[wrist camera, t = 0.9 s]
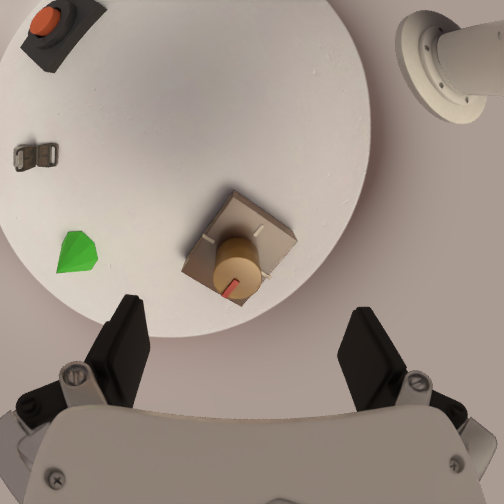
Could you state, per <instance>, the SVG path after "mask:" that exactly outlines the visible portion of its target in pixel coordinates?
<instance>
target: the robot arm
mask: <svg viewBox="0 0 504 504" xmlns="http://www.w3.org/2000/svg"><path fill="white" fill-rule="evenodd" d="M419 53H420V58H421V62H422V65H423V68H424V70H425V73H426V75H427V77H428V79H429V80H430V82H431V84H432V85H433V86H434V88H435V89H436V90H437V91H438V92H439V93H440V95H441V96H442V97H444V98H445V99H446V100H448V101H449V102H451V103H453V104H456V105H470V104H472V103H473V102H474V101H475V100H476V99H477V97H478V96H479V95H487V96H504V20H501V21H495V22H490V23H485V24H481V25H476V26H471V27H468V28H463V29H459V30H456V31H453V30H451V29H449V28H447V27H445V26H440V25H437V26H432V27H429V28H427V29H426V30H425V31H424V32H423V33H422V35H421V37H420V42H419ZM149 352H150V341H149V335H148V330H147V324H146V318H145V311H144V305H143V300H142V299H139V297H138V296H137V295H128V294H126V295H125V296H124V297H123V299H122V301H121V302H120V304H119V306H118V308H117V309H116V311H115V313H114V315H113V316H112V318H111V320H110V321H107V322H106V323H105V324H104V326H103V328H102V329H101V331H100V333H99V335H98V337H97V338H96V340H95V342H94V344H93V346H92V347H91V349H90V351H89V353H88V355H87V357H86V359H85V361H84V362H81V361H74V362H70V363H68V364H66V365H65V366H64V367H63V368H62V369H61V370H60V373H59V380H58V381H55V382H53V383H50V384H48V385H45V386H43V387H41V388H38V389H36V390H33V391H31V392H28V393H25V394H23V395H22V396H21V397H20V398H19V399H18V401H17V403H16V410H15V411H13V412H12V411H11V410H10V411H9V412H7V413H6V414H5V415H3V416H2V417H1V418H0V477H1V478H2V480H3V481H4V483H5V484H6V486H7V487H8V489H9V490H10V492H11V493H12V494H13V496H14V497H15V498H16V500H17V501H18V502H19V504H486V502H485V498H484V495H483V492H482V488H481V486H480V483H479V482H480V480H481V478H482V476H483V475H484V473H485V471H486V469H487V467H488V465H489V463H490V461H491V459H492V457H493V455H494V453H495V451H496V448H497V440H496V437H495V436H494V435H493V434H492V433H491V432H489V431H488V430H487V429H486V428H484V427H483V426H482V425H481V424H479V423H478V422H477V421H476V420H474V419H473V418H472V417H470V418H469V419H468V418H467V417H468V414H467V410H466V408H465V407H464V405H463V404H461V403H460V402H458V401H456V400H454V399H451V398H449V397H447V396H445V395H443V394H440V393H438V392H436V391H434V390H432V388H433V384H432V381H431V379H430V378H429V376H428V375H426V374H425V373H423V372H421V371H415V370H413V371H410V372H408V371H407V370H406V368H407V367H406V365H405V363H404V361H403V360H402V358H401V356H400V355H399V353H398V351H397V350H396V348H395V346H394V345H393V343H392V341H391V340H390V338H389V336H388V335H387V333H386V331H385V330H384V328H383V327H382V325H381V323H380V322H379V320H378V319H377V317H376V316H375V314H374V312H373V311H372V309H371V308H370V307H357V308H356V310H354V311H353V312H352V315H351V318H350V321H349V323H348V326H347V329H346V332H345V335H344V337H343V340H342V342H341V345H340V348H339V350H338V354H337V357H338V361H339V364H340V366H341V369H342V371H343V374H344V376H345V379H346V382H347V385H348V388H349V390H350V393H351V396H352V399H353V401H354V404H355V407H356V410H357V412H353V413H345V414H338V415H329V416H320V417H308V418H291V419H221V418H206V417H194V416H184V415H175V414H166V413H159V412H152V411H145V410H139V409H133V404H134V401H135V397H136V394H137V390H138V387H139V384H140V381H141V377H142V374H143V371H144V368H145V364H146V361H147V358H148V355H149Z"/></svg>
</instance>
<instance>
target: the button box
mask: <svg viewBox="0 0 504 504" xmlns="http://www.w3.org/2000/svg"><path fill="white" fill-rule="evenodd" d="M46 7H52V8H54V9H56V10H58V11H60V14H61V17H60V20H59V22H58V24H57V26H56V27H55V28H54V29H53V31H52V32H51V33H49V34H48V35H46V36H39V35H36V34H33V33H31V31H30V29H29V32H28V37H27V38H26V40H25V41H24V43H23V44H22V46H21V47H20V48H21V49H22V50H23V51H24V52H25V53H26V54H27V55H28V56H29V57H30V58H31V59H32V60H33V61H34V62H35V63H36V64H37V65H38V66H39V67H41V68H42V69H43V70H44V71H45V72H51V73H55V72H56V70H57V69H58V67H59V66H60V65H61V63H62V62H63V60H64V59H65V58H66V56H67V55H68V54H69V52H70V51H71V50H72V49H73V47H74V46H75V45H76V44H77V42H78V41H79V40H80V39H81V38H82V36H83V35H84V34H85V33H86V32H87V31H88V30H89V28H90V27H91V26H92V25H93V24H94V23H95V22H96V21H97V20H98V19H99V18H100V17H101V15H102V14H103V13H104V12H105V11H106V10H107V9H106V8H105V7H103V6H102V5H101V4H99V3H98V2H96V1H94V0H56V1H52V2H51V3H50V4H48V5H47V6H45V7H44V8H46ZM44 8H43V9H44Z"/></svg>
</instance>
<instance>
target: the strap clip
mask: <svg viewBox="0 0 504 504" xmlns="http://www.w3.org/2000/svg"><path fill="white" fill-rule="evenodd" d="M51 146H53V147H55V163H54V164H51ZM18 152H19V153H18ZM57 163H58V145H57V144H53V143H50V144H43V145H38V147H36V146H32V145H22V146H18V147H15V148H14V167H15V170H16V171H17V172H22V171H26V170H28V169H31V168H33V167H35V166H36V165H37V166H38V167H54V166H56V165H57ZM18 168H22V169H18Z"/></svg>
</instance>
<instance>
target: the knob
mask: <svg viewBox="0 0 504 504" xmlns="http://www.w3.org/2000/svg"><path fill="white" fill-rule="evenodd" d="M261 282H262V273H261V266H260V259H259V253H258V250H257V248H256V246H255V245H254V244H253V243H252V242H250V241H249V240H247V239H244V238H231V239H229V240H227V241H225V242H223V243H222V244H221V246H220V247H219V248H218V251H217V255H216V260H215V266H214V272H213V283H214V285H215V287H216V289H217V290H218V291H219V292H220V293H221V294H222V295H221V296H222V297H224V298H226V299H227V297H228V298H232V299H243V298H247V297H249V296H251V295H253V294H254V293H255V292H256V291H257V290H258V289H259V287H260V285H261Z"/></svg>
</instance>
